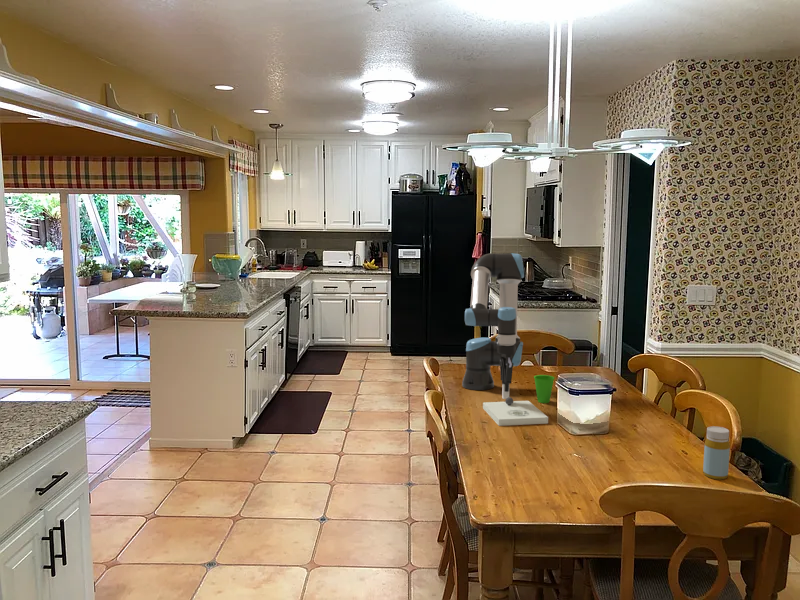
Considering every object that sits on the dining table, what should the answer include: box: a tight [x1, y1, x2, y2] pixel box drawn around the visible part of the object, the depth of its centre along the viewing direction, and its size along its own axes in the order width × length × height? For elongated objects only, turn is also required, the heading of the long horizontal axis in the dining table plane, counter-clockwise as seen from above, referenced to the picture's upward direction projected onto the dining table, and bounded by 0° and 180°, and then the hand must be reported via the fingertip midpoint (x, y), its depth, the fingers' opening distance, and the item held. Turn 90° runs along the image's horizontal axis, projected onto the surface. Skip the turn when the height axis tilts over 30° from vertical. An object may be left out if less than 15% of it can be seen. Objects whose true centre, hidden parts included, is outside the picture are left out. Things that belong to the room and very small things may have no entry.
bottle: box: [702, 425, 731, 481], centre depth 202 cm, size 7×7×15 cm
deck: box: [482, 400, 549, 427], centre depth 266 cm, size 24×20×2 cm
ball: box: [505, 396, 514, 405], centre depth 273 cm, size 3×3×3 cm
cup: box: [533, 374, 556, 404], centre depth 286 cm, size 9×9×11 cm
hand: (505, 398), depth 278 cm, fingers closed
